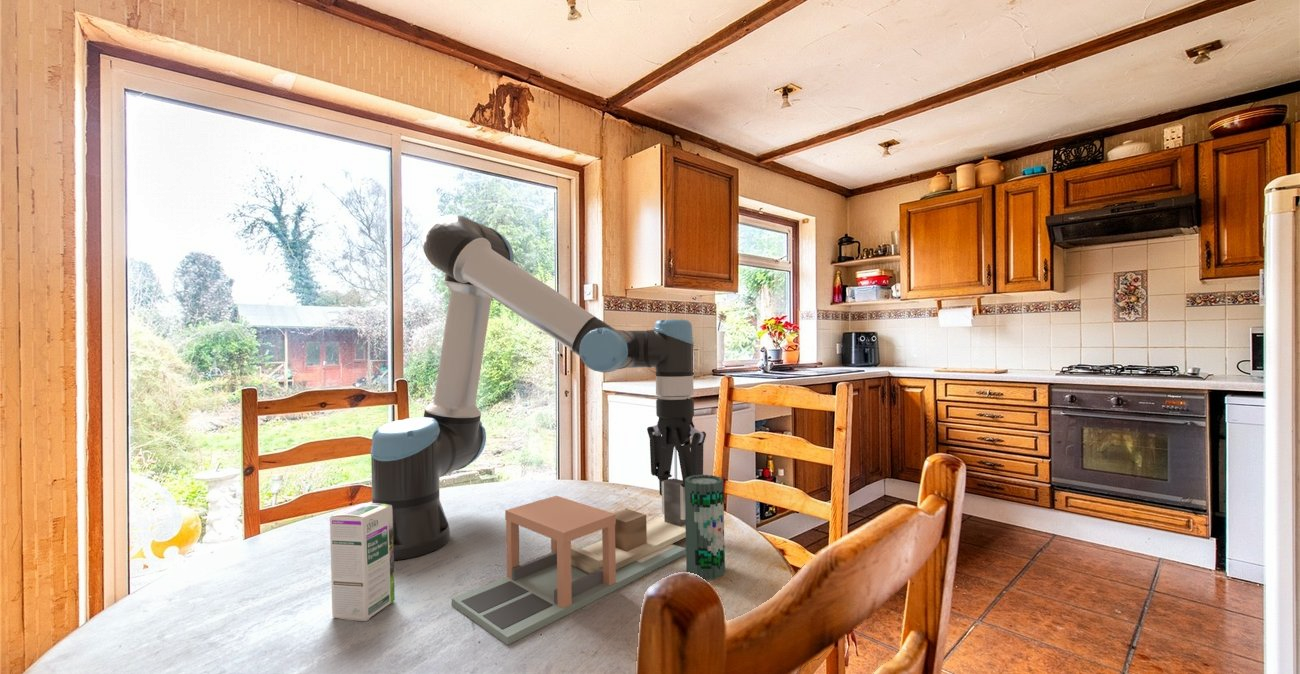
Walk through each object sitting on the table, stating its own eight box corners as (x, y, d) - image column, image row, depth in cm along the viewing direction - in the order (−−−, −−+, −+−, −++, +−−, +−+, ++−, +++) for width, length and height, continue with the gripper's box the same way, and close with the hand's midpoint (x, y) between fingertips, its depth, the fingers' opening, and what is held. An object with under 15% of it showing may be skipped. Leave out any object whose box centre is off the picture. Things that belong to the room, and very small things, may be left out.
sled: (563, 561, 85) (563, 507, 85) (665, 520, 104) (664, 476, 104) (599, 577, 79) (598, 519, 79) (699, 530, 98) (699, 484, 98)
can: (706, 582, 79) (704, 486, 79) (679, 570, 83) (677, 479, 84) (731, 570, 83) (729, 479, 83) (704, 559, 87) (702, 472, 88)
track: (451, 605, 73) (450, 525, 74) (626, 533, 100) (625, 475, 100) (507, 645, 63) (506, 553, 63) (686, 554, 90) (684, 489, 90)
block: (606, 544, 89) (606, 515, 89) (627, 535, 93) (626, 508, 93) (626, 551, 86) (626, 522, 86) (646, 542, 90) (646, 514, 90)
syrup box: (366, 622, 69) (365, 516, 69) (329, 618, 70) (329, 514, 71) (395, 601, 75) (394, 503, 75) (361, 598, 76) (360, 501, 76)
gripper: (721, 398, 97) (723, 519, 97) (655, 393, 109) (657, 501, 108) (697, 401, 92) (700, 530, 91) (631, 396, 103) (633, 510, 103)
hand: (676, 514), depth 100 cm, fingers closed on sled, 4 cm apart
